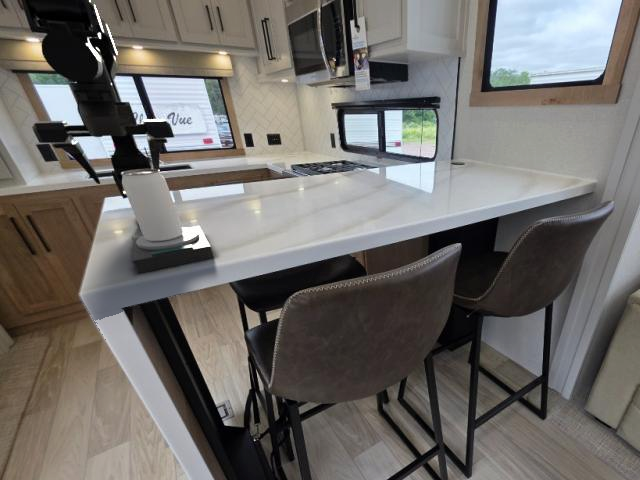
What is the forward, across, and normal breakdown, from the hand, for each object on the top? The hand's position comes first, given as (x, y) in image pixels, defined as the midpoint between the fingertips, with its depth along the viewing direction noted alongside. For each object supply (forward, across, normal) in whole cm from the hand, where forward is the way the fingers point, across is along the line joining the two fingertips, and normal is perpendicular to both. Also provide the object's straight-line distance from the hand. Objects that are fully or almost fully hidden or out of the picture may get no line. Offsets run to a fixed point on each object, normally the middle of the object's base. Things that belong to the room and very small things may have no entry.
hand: (129, 180), depth 63 cm
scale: (+12, +3, -8) cm, 15 cm away
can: (+10, +2, -7) cm, 12 cm away
